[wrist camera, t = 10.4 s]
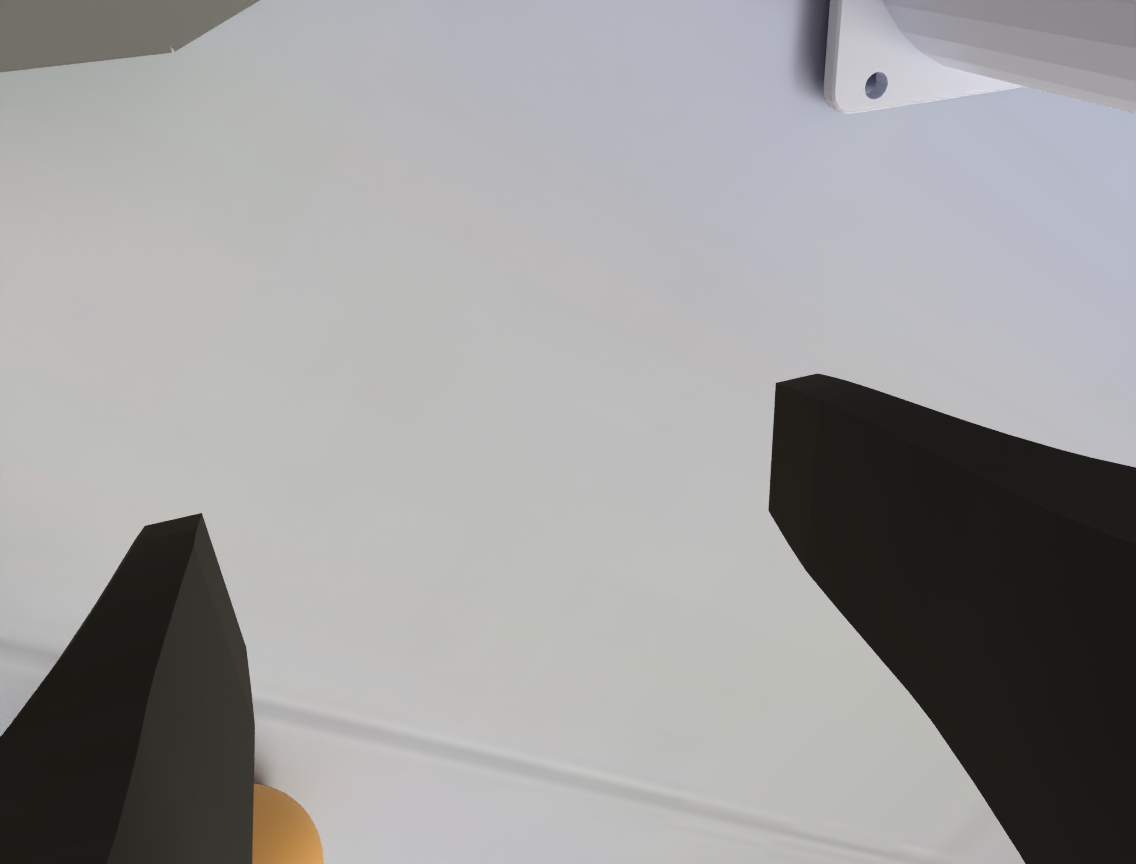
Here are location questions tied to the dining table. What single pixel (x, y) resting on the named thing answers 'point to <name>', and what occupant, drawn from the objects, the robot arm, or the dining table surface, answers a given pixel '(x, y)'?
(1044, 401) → the dining table surface
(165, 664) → the robot arm
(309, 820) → the figurine
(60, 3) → the round tray
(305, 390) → the dining table surface
